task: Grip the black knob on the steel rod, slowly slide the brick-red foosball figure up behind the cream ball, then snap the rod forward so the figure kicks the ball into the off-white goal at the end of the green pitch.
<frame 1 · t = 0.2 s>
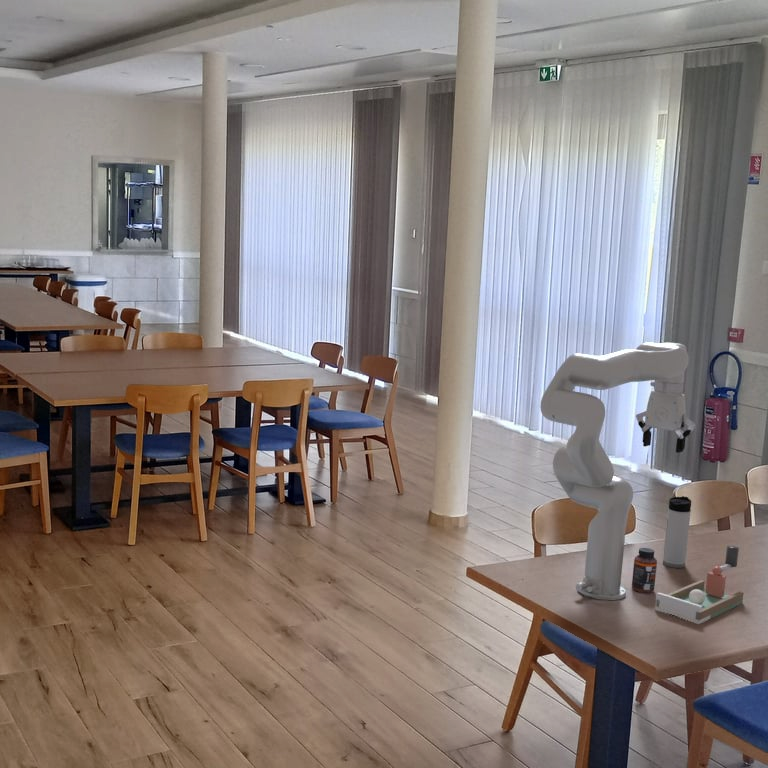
hand: (662, 448, 284), 36 cm above the table, tool pointing down, fingers open, 9 cm apart
kicker rod: (724, 570, 274), point 7 cm above the table, slide at 0.0 cm
pitch: (699, 606, 266), on the table
supplement bottle: (642, 590, 276), on the table
ball: (696, 597, 264), point 3 cm above the table, touching pitch
travel mug: (674, 565, 300), on the table
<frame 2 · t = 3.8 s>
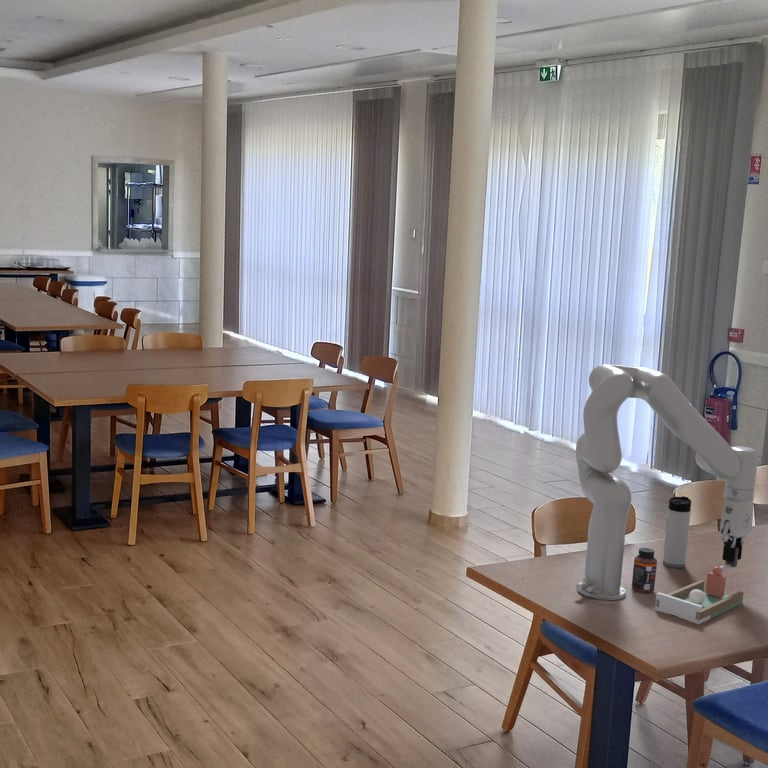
hand: (731, 559, 276), 10 cm above the table, tool pointing down, fingers closed on kicker rod, 3 cm apart
kicker rod: (724, 570, 274), point 7 cm above the table, slide at 0.0 cm, touching gripper
everything else where it was.
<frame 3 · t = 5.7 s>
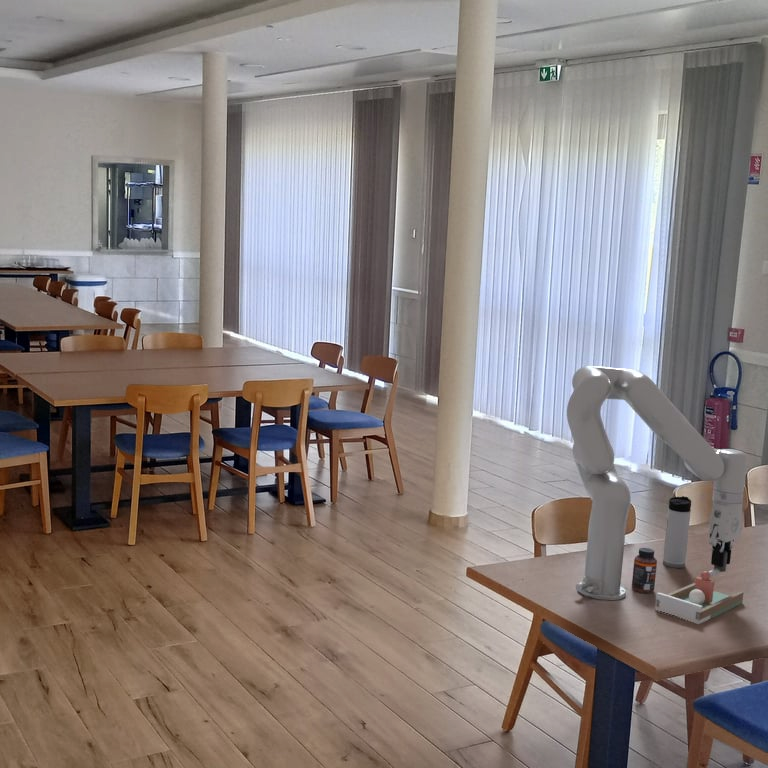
hand: (720, 563, 271), 10 cm above the table, tool pointing down, fingers closed on kicker rod, 3 cm apart
kicker rod: (712, 575, 269), point 7 cm above the table, slide at 6.5 cm, touching gripper
everything else where it was.
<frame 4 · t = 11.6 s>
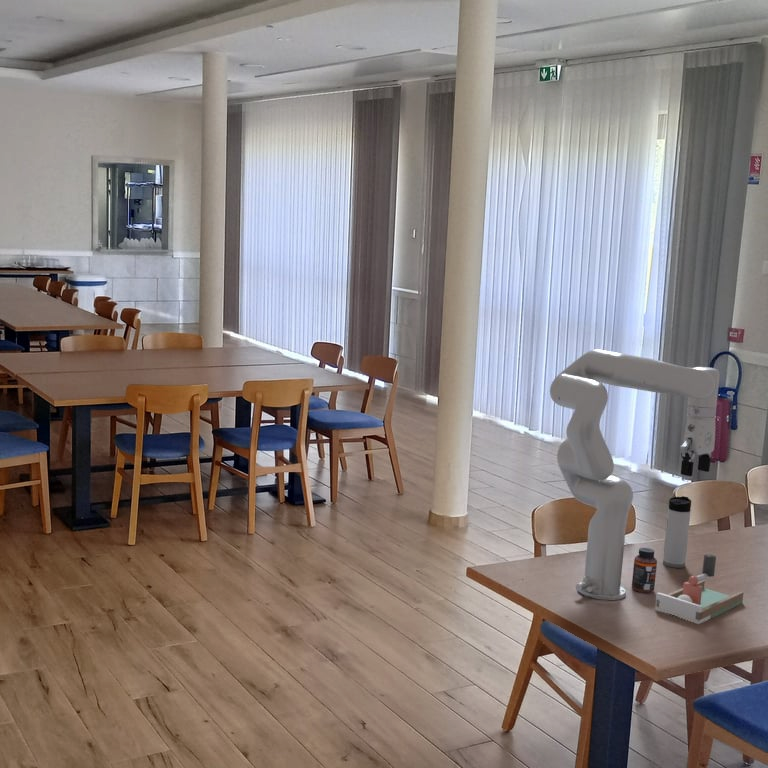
hand: (695, 473, 284), 30 cm above the table, tool pointing down, fingers open, 9 cm apart
kicker rod: (700, 580, 264), point 7 cm above the table, slide at 13.0 cm
ball: (684, 602, 259), point 3 cm above the table, tilted 179°, touching pitch
everything else where it was.
at the end: ball inside the target area on the pitch (0.1 cm from its centre), point 3.0 cm above the pitch's base; kicker rod slide at 13.0 cm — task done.
